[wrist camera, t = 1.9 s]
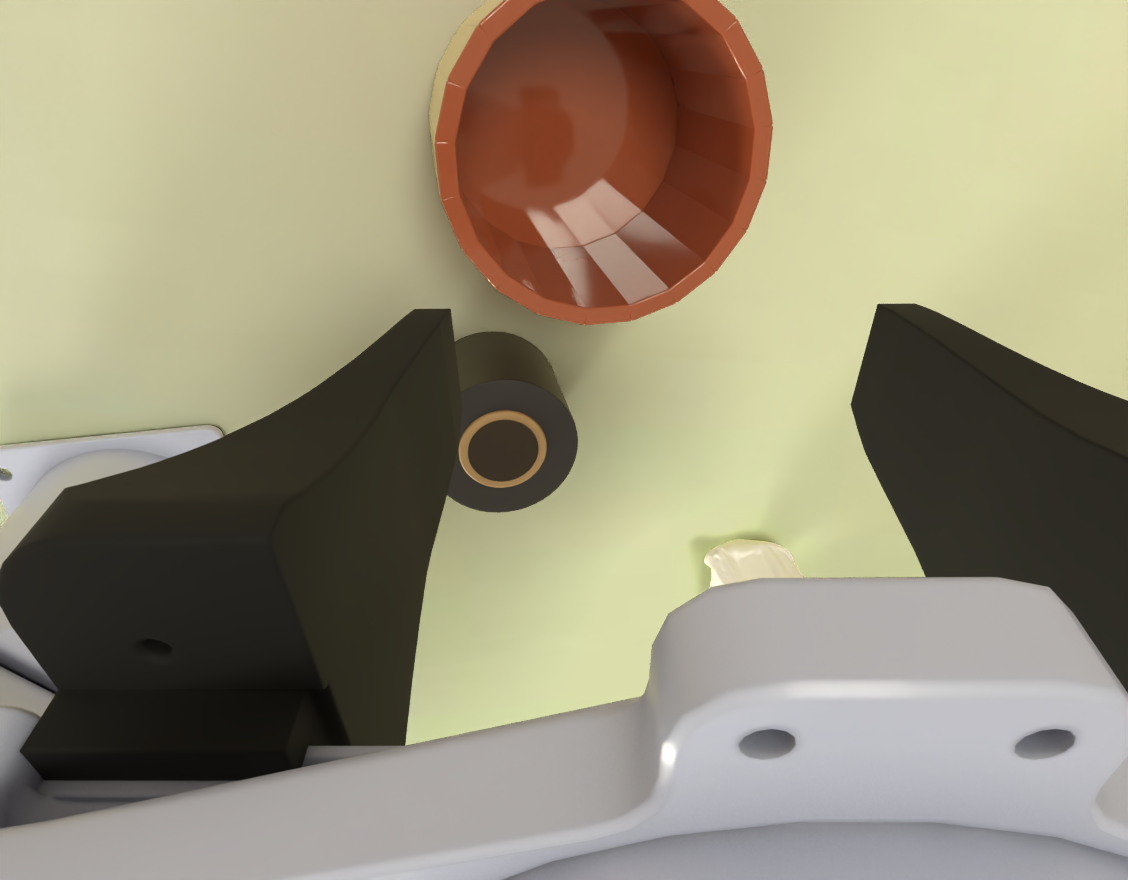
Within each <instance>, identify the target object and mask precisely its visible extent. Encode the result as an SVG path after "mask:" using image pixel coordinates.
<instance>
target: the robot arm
mask: <svg viewBox="0 0 1128 880" xmlns="http://www.w3.org/2000/svg"><path fill="white" fill-rule="evenodd" d="M851 407H852V411H853V414H854V418H855V422H856V425H857V429H858V432H859V435H860V438H861V441H862V444H863V447H864V450H865V453H866V455H867V457H868V459H869V461H870V463H871V465H872V467H873V469H874V471H875V473H876V475H877V478H878V480H879V482H880V484H881V486H882V488H883V490H884V492H885V494H886V496H887V498H888V499H889V501H890V503H891V505H892V507H893V509H894V511H895V513H896V515H897V517H898V519H899V521H900V523H901V525H902V527H903V529H904V531H905V533H906V535H907V537H908V539H909V541H910V543H911V545H912V547H913V549H914V551H915V553H916V555H917V558H918V560H919V562H920V564H921V567H922V569H923V571H924V574H925V576H926V577H842V578H757V579H752V580H746V581H741V582H735V583H729V584H724V585H718V586H713V587H711V588H709V589H708V590H706V591H704V592H703V593H701V594H699V595H698V596H696V597H695V598H693V599H691V600H690V601H688V602H686V603H685V604H683V605H681V606H680V607H678V608H676V609H675V610H673V611H672V612H670V613H669V614H668V616H667V618H666V619H665V621H664V623H663V625H662V627H661V629H660V631H659V633H658V635H657V637H656V639H655V641H654V643H653V645H652V651H651V663H650V674H649V681H648V684H647V687H646V690H645V693H644V694H643V695H642V696H640V697H636V698H631V699H626V700H621V701H616V702H612V703H607V704H602V705H597V706H593V707H588V708H583V709H578V710H573V711H569V712H564V713H559V714H554V715H550V716H545V717H540V718H535V719H531V720H526V721H521V722H516V723H511V724H507V725H502V726H497V727H492V728H488V729H483V730H478V731H473V732H468V733H464V734H459V735H454V736H449V737H445V738H440V739H435V740H430V741H425V742H421V743H416V744H411V745H406V746H405V742H406V732H407V723H408V714H409V705H410V696H411V687H412V678H413V670H414V662H415V654H416V646H417V639H418V631H419V623H420V616H421V609H422V602H423V596H424V589H425V582H426V575H427V570H428V566H429V561H430V556H431V552H432V548H433V544H434V541H435V537H436V533H437V530H438V526H439V522H440V518H441V515H442V511H443V507H444V504H445V500H446V496H447V492H448V489H449V485H450V481H451V477H452V473H453V470H454V466H455V462H456V458H457V453H458V445H459V437H460V429H461V419H462V410H463V407H462V398H461V390H460V382H459V374H458V366H457V358H456V350H455V342H454V334H453V325H452V317H451V309H414V310H413V311H412V312H410V313H409V314H408V315H406V316H405V317H404V318H403V319H401V320H400V321H399V322H398V323H397V324H396V325H394V326H393V327H392V328H391V329H390V330H389V331H387V332H386V333H385V334H384V335H383V336H382V337H380V338H379V339H378V340H377V341H376V342H374V343H373V344H372V345H371V346H370V347H368V348H367V349H366V350H365V351H364V352H362V353H361V354H360V355H359V356H357V357H356V358H355V359H354V360H352V361H351V362H350V363H348V364H347V365H345V366H344V367H343V368H341V369H340V370H339V371H337V372H336V373H335V374H333V375H332V376H331V377H329V378H328V379H326V380H325V381H324V382H322V383H321V384H320V385H318V386H317V387H315V388H314V389H312V390H311V391H309V392H308V393H306V394H304V395H303V396H301V397H300V398H298V399H296V400H295V401H293V402H291V403H289V404H288V405H286V406H284V407H282V408H281V409H279V410H277V411H275V412H274V413H272V414H270V415H268V416H266V417H264V418H262V419H260V420H258V421H256V422H254V423H251V424H249V425H247V426H245V427H243V428H241V429H239V430H237V431H234V432H232V433H230V434H228V435H226V436H224V435H223V433H222V431H221V430H220V429H218V428H217V427H215V426H212V425H201V426H191V427H180V428H170V429H160V430H150V431H140V432H130V433H120V434H109V435H99V436H89V437H79V438H69V439H59V440H49V441H38V442H28V443H18V444H8V445H0V468H3V469H7V470H9V471H10V472H11V473H12V475H7V474H5V473H3V472H2V471H1V469H0V500H1V502H2V504H3V506H4V508H5V510H6V512H7V514H8V516H9V518H8V519H7V520H6V522H5V523H4V524H3V525H2V526H1V528H0V880H1128V401H1127V400H1124V399H1121V398H1119V397H1116V396H1113V395H1111V394H1108V393H1105V392H1103V391H1100V390H1098V389H1095V388H1093V387H1090V386H1088V385H1086V384H1083V383H1081V382H1079V381H1076V380H1074V379H1072V378H1070V377H1067V376H1065V375H1063V374H1061V373H1059V372H1056V371H1054V370H1052V369H1050V368H1048V367H1045V366H1043V365H1041V364H1039V363H1037V362H1035V361H1033V360H1031V359H1029V358H1027V357H1025V356H1023V355H1021V354H1019V353H1017V352H1015V351H1013V350H1011V349H1009V348H1007V347H1005V346H1003V345H1001V344H999V343H997V342H995V341H993V340H991V339H989V338H987V337H985V336H983V335H981V334H979V333H977V332H976V331H974V330H972V329H970V328H968V327H966V326H964V325H962V324H960V323H958V322H956V321H954V320H952V319H950V318H948V317H946V316H944V315H942V314H940V313H937V312H935V311H933V310H931V309H928V308H926V307H923V306H920V305H917V304H878V305H877V309H876V312H875V316H874V320H873V324H872V327H871V331H870V335H869V339H868V342H867V346H866V350H865V353H864V357H863V361H862V365H861V368H860V372H859V376H858V380H857V383H856V387H855V391H854V395H853V398H852V402H851Z"/></svg>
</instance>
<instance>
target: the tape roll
mask: <svg viewBox="0 0 1128 880" xmlns="http://www.w3.org/2000/svg"><path fill="white" fill-rule="evenodd" d="M455 350H456V358H457V366H458V374H459V382H460V390H461V398H462V407H463V410H462V419H461V429H460V437H459V445H458V453H457V458H456V462H455V466H454V470H453V473H452V477H451V481H450V485H449V489H448V492H447V495H448V496H449V497H450V498H452V499H453V500H454V501H456V502H458V503H460V504H462V505H464V506H466V507H469V508H472V509H475V510H479V511H485V512H509V511H515V510H519V509H523V508H526V507H528V506H531V505H533V504H535V503H537V502H539V501H541V500H543V499H544V498H546V497H547V496H549V495H550V494H551V493H552V492H553V491H555V490H556V489H557V488H558V487H559V486H560V485H561V483H562V482H563V481H564V480H565V478H566V477H567V475H568V474H569V472H570V470H571V468H572V466H573V463H574V461H575V458H576V453H577V446H578V437H577V430H576V426H575V422H574V420H573V418H572V415H571V413H570V410H569V408H568V406H567V403H566V401H565V398H564V396H563V393H562V391H561V389H560V386H559V384H558V381H557V379H556V377H555V374H554V372H553V369H552V367H551V365H550V363H549V362H548V360H547V358H546V357H545V356H544V355H543V353H542V352H541V351H540V350H539V349H538V348H537V347H535V346H534V345H533V344H531V343H530V342H528V341H526V340H524V339H523V338H520V337H518V336H515V335H512V334H508V333H502V332H483V333H476V334H473V335H469V336H467V337H464V338H462V339H459V340H458V341H456V342H455Z"/></svg>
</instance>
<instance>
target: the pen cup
mask: <svg viewBox="0 0 1128 880" xmlns="http://www.w3.org/2000/svg"><path fill="white" fill-rule="evenodd" d="M772 124H773V122H772V116H771V110H770V105H769V99H768V93H767V88H766V82H765V76H764V71H763V70H762V65H761V63H760V62H759V60H758V58H757V56H756V54H755V52H754V50H753V48H752V46H751V44H750V42H749V41H748V39H747V37H746V35H745V33H744V31H743V29H742V27H741V25H740V23H739V21H738V20H737V19H736V18H735V16H734V15H733V14H732V13H731V12H730V11H729V10H728V9H727V8H725V7H724V6H723V5H722V4H721V3H720V2H719V1H718V0H487V1H486V2H485V3H484V4H482V5H481V6H480V7H479V8H478V9H476V10H475V11H474V12H473V13H472V14H471V15H470V16H469V17H468V18H467V19H466V20H465V21H464V22H463V23H462V25H461V26H460V27H459V29H458V30H457V32H456V34H455V35H454V37H453V38H452V40H451V41H450V43H449V45H448V47H447V49H446V51H445V53H444V55H443V57H442V59H441V61H440V63H439V66H438V68H437V72H436V77H435V81H434V85H433V90H432V95H431V103H430V108H429V125H430V136H431V144H432V154H433V161H434V167H435V172H436V178H437V184H438V190H439V195H440V199H441V203H442V205H443V207H444V210H445V212H446V215H447V217H448V219H449V222H450V224H451V226H452V229H453V231H454V233H455V236H456V238H457V240H458V243H459V245H460V247H461V249H463V252H464V253H465V255H466V256H467V257H468V258H469V259H470V260H471V262H472V263H473V264H474V265H475V266H476V267H477V268H478V270H479V271H480V272H481V273H482V274H483V275H484V277H485V278H486V279H487V280H488V281H489V282H490V283H491V285H492V286H493V287H494V288H496V289H497V291H499V292H501V293H502V294H504V295H506V296H507V297H509V298H511V299H512V300H514V301H516V302H517V303H519V304H521V305H522V306H524V307H526V308H527V309H529V310H531V311H532V312H534V313H536V314H539V315H542V316H546V317H551V318H555V319H559V320H564V321H568V322H572V323H577V324H581V325H583V324H585V325H591V324H603V323H614V322H626V321H631V320H635V319H638V318H640V317H643V316H645V315H648V314H650V313H653V312H655V311H658V310H660V309H663V308H665V307H668V306H670V305H673V304H675V302H678V301H680V300H681V299H682V298H684V297H685V296H686V295H687V294H689V293H690V292H691V291H693V290H694V289H695V288H696V287H698V286H699V285H700V284H702V283H703V282H704V281H705V280H707V279H708V278H709V277H711V276H712V275H713V274H714V273H715V271H717V270H718V269H719V267H720V266H721V265H722V263H723V262H724V261H725V259H726V258H727V257H728V255H729V254H730V253H731V251H732V250H733V249H734V247H735V246H736V245H737V243H738V242H739V241H740V239H741V238H742V237H743V235H744V234H745V233H746V230H747V229H748V227H749V224H750V222H751V219H752V217H753V214H754V212H755V209H756V207H757V204H758V202H759V199H760V197H761V194H762V192H763V189H764V187H765V184H766V180H767V175H768V166H769V157H770V148H771V139H772V130H773V126H772Z"/></svg>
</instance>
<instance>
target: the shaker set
mask: <svg viewBox="0 0 1128 880" xmlns="http://www.w3.org/2000/svg"><path fill="white" fill-rule="evenodd" d="M704 563H705V564H706V565H708V566H709V567H711V571H712V573H711V574H712V576H711V582H710V587H709V588H711V587H713V586H718V585H724V584H729V583H735V582H741V581H746V580H752V579H757V578H804V577H803V575H802V574H801V572H800V571H799V569H798V568H797V566H796V565H795V564H794V559H793V557H792V555H791V554H790V552H789V551H788V550H787V549H786V548H784V547H783V546H781V545H779V544H776V543H772V542H767V541H756V540H745V539H736V540H731V541H728V542H725V543H723V544H721V545H719V546H717V547H714V548H712V549H711V550H710V551H709V552H708V553H707V554H706V556H705V559H704Z"/></svg>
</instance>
